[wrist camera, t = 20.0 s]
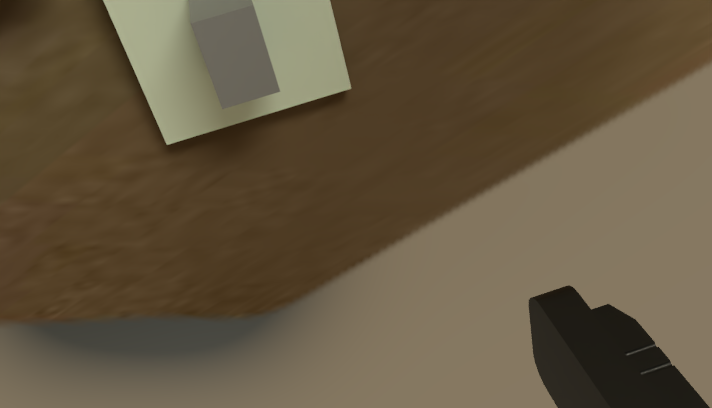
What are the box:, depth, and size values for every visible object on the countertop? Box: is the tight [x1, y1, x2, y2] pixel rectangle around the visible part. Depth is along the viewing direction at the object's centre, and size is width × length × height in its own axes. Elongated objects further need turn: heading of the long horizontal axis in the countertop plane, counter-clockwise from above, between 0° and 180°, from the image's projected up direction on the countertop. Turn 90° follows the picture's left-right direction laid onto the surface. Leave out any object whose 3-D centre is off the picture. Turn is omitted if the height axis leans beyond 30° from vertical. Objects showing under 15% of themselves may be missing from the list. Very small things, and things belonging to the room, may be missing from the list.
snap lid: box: [103, 0, 351, 145], centre depth 28 cm, size 9×9×6 cm
